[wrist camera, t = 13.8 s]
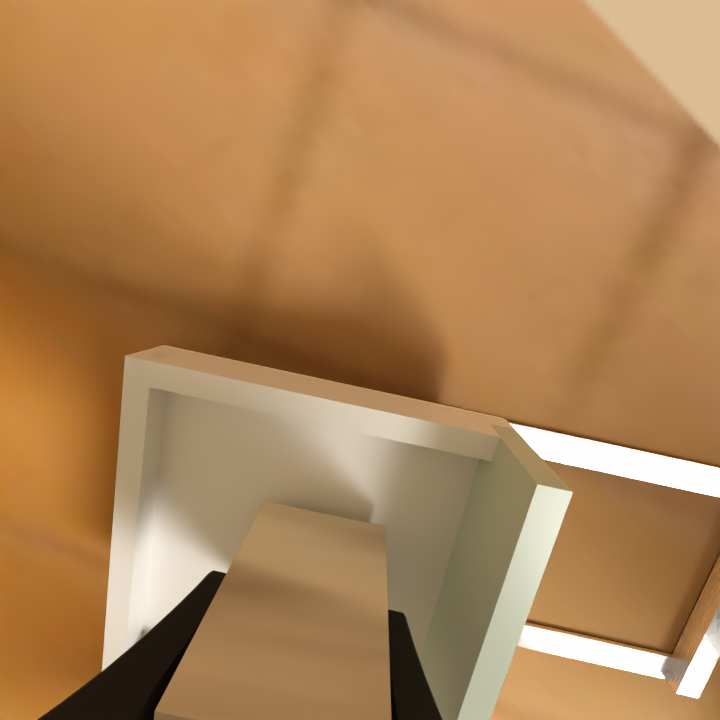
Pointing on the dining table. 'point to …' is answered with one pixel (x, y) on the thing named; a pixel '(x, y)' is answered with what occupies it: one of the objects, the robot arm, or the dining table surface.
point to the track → (715, 605)
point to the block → (292, 627)
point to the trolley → (332, 503)
